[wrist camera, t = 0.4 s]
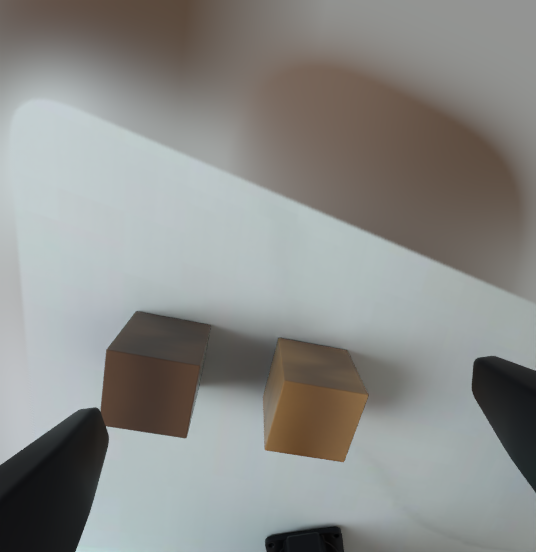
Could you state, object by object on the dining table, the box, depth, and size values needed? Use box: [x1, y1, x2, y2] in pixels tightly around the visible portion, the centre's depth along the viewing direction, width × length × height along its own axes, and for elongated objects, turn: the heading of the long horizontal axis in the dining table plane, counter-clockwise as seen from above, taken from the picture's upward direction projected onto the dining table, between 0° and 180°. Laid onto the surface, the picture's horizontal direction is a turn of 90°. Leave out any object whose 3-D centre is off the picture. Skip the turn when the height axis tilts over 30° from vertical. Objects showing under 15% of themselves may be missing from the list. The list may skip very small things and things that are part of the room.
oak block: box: [263, 338, 368, 462], centre depth 23 cm, size 5×5×5 cm
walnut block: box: [101, 311, 211, 438], centre depth 22 cm, size 5×5×5 cm
